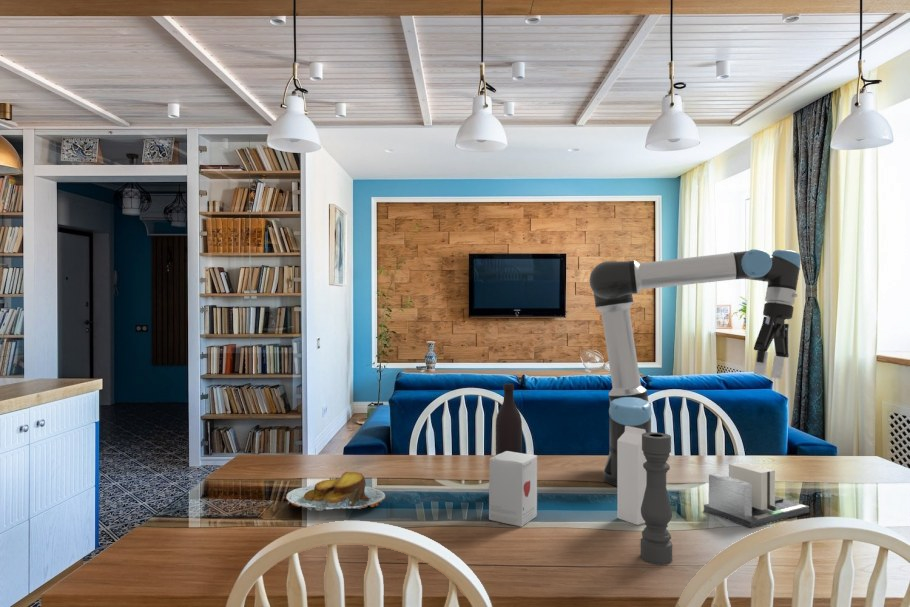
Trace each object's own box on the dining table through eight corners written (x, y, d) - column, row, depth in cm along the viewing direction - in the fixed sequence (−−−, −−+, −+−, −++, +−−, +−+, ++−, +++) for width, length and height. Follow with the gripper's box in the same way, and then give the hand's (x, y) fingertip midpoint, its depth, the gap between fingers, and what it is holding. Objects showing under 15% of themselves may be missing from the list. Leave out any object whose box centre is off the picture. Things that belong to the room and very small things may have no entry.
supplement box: (522, 527, 141) (521, 463, 141) (488, 520, 146) (487, 457, 146) (538, 516, 149) (538, 454, 149) (505, 509, 154) (505, 450, 154)
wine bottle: (527, 494, 165) (527, 383, 165) (511, 501, 160) (511, 386, 160) (506, 489, 170) (506, 381, 170) (490, 495, 165) (490, 384, 165)
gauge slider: (768, 512, 144) (768, 474, 144) (728, 499, 154) (728, 464, 154) (781, 509, 146) (781, 472, 146) (742, 496, 156) (742, 461, 156)
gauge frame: (750, 528, 141) (750, 486, 141) (703, 510, 152) (703, 472, 152) (809, 512, 151) (809, 474, 151) (761, 497, 162) (761, 461, 162)
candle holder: (673, 554, 126) (673, 433, 126) (670, 566, 120) (670, 439, 120) (642, 549, 129) (642, 431, 128) (638, 561, 123) (638, 437, 123)
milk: (637, 525, 143) (637, 431, 142) (616, 518, 147) (616, 427, 147) (653, 519, 146) (653, 427, 146) (632, 512, 151) (632, 423, 151)
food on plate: (274, 499, 163) (274, 474, 163) (361, 484, 176) (361, 461, 176) (305, 528, 141) (305, 500, 141) (401, 509, 155) (401, 483, 155)
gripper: (778, 297, 166) (766, 375, 165) (807, 311, 183) (796, 382, 182) (749, 295, 171) (737, 370, 170) (780, 309, 188) (769, 377, 187)
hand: (767, 376), depth 176 cm, fingers open, 13 cm apart
